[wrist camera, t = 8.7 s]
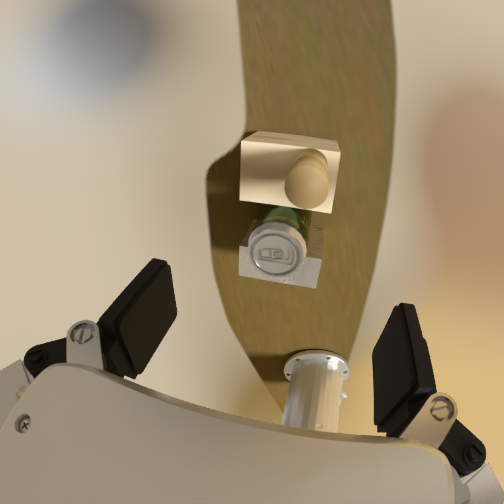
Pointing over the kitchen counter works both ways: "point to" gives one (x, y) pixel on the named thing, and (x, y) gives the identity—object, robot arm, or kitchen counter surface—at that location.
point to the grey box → (302, 277)
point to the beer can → (279, 240)
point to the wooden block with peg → (289, 170)
